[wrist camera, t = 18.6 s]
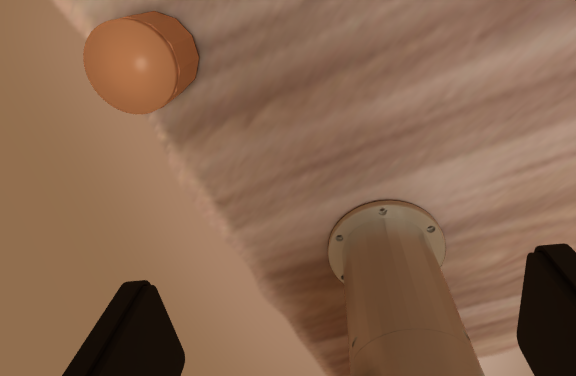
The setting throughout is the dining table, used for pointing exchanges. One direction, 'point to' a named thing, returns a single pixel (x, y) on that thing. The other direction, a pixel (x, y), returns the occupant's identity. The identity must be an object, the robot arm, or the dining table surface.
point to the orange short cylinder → (140, 61)
